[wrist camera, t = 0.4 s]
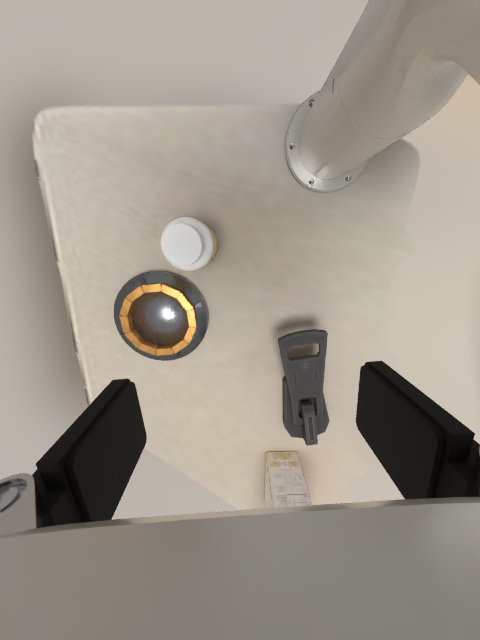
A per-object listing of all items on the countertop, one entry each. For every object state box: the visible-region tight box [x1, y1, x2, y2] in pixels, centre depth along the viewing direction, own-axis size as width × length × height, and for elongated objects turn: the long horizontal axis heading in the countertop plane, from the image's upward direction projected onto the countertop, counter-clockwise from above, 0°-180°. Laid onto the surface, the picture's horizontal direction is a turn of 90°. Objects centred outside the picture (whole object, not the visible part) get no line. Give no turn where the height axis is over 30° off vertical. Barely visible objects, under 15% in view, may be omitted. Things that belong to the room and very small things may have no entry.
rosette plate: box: [114, 271, 208, 360], centre depth 41 cm, size 16×16×3 cm
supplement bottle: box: [161, 217, 218, 271], centre depth 33 cm, size 7×7×13 cm
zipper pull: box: [278, 329, 329, 445], centre depth 44 cm, size 9×7×25 cm
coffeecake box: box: [264, 451, 312, 508], centre depth 45 cm, size 15×7×20 cm, turn 179°
